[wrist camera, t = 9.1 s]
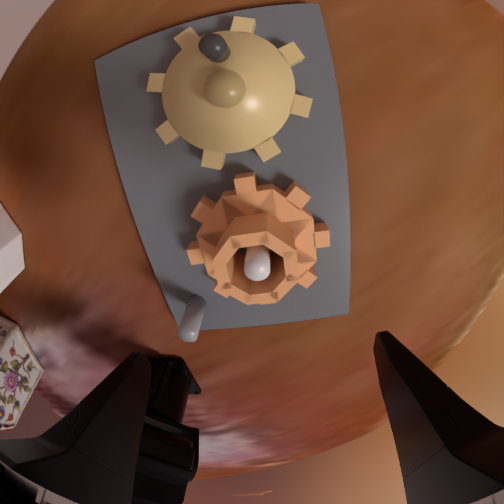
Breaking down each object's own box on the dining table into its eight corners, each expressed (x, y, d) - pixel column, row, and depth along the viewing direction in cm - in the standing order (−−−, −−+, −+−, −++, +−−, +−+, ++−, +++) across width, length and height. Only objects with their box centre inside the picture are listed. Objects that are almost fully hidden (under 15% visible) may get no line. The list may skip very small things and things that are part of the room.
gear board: (345, 305, 21) (358, 346, 17) (183, 323, 23) (170, 362, 19) (315, 8, 11) (331, -20, 7) (102, 61, 13) (61, 56, 9)
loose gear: (328, 285, 19) (338, 320, 16) (209, 299, 20) (200, 334, 17) (319, 162, 15) (334, 177, 12) (175, 186, 16) (153, 207, 13)
